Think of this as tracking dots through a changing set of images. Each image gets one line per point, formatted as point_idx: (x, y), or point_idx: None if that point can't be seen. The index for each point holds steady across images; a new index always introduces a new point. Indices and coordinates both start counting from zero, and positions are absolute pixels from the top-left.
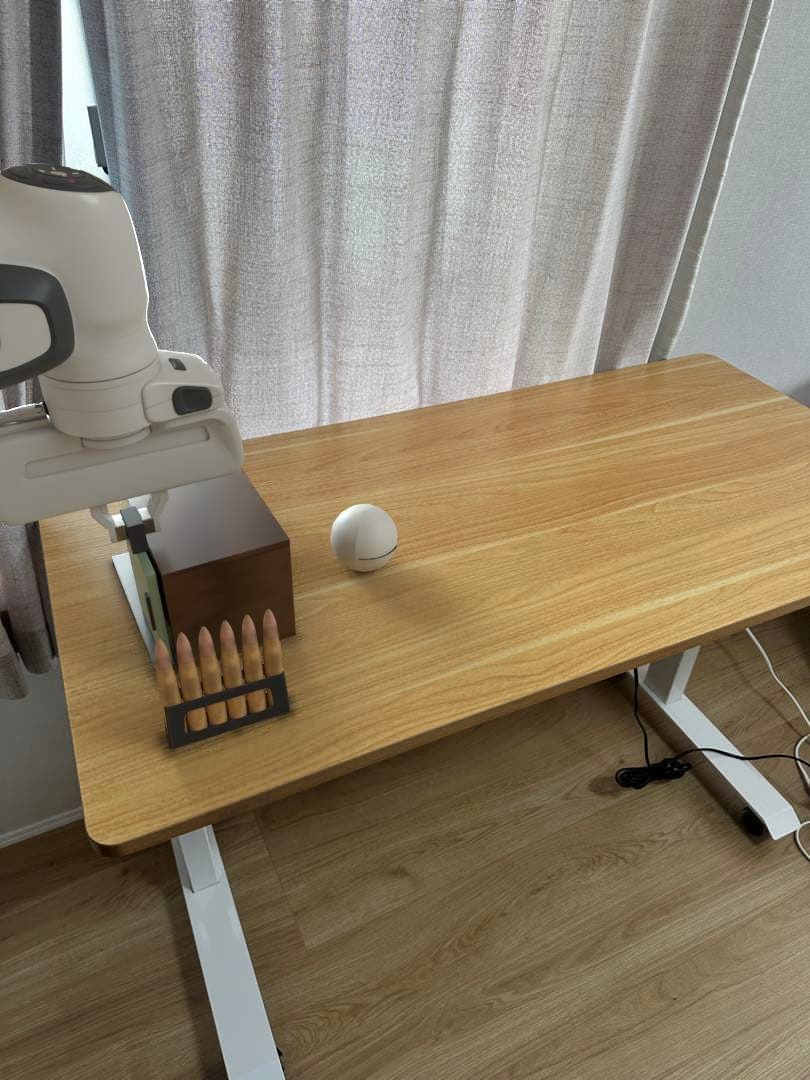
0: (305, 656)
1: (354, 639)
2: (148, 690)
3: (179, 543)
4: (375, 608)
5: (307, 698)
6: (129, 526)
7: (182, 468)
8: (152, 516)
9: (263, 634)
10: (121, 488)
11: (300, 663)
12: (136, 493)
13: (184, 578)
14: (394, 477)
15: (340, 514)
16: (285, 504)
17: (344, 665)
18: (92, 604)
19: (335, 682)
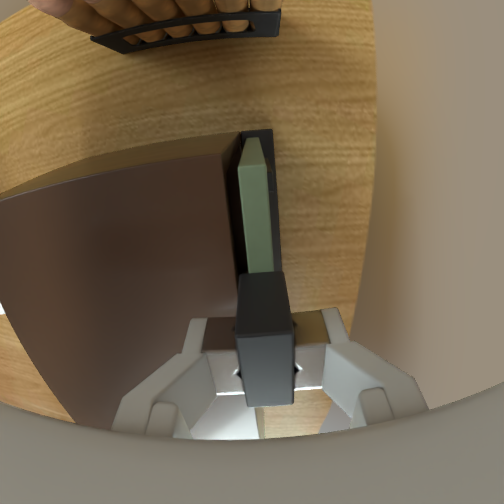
0: (82, 117)
1: (33, 135)
2: (287, 116)
3: (158, 276)
4: (11, 181)
5: (98, 49)
6: (285, 335)
7: (5, 477)
8: (200, 357)
9: (71, 1)
10: (307, 500)
11: (90, 107)
12: (230, 458)
13: (167, 156)
14: (11, 355)
15: (1, 307)
16: None
17: (50, 95)
18: (323, 297)
19: (64, 69)
